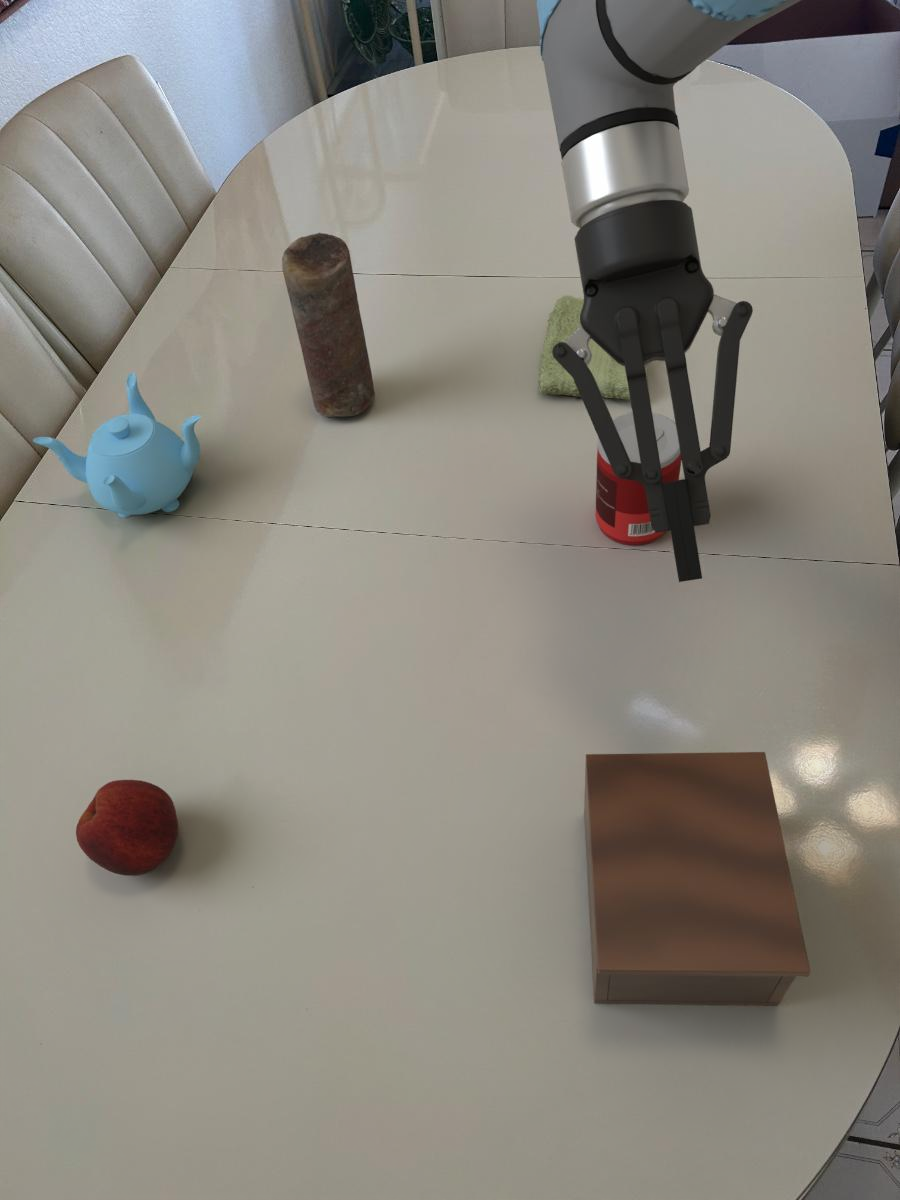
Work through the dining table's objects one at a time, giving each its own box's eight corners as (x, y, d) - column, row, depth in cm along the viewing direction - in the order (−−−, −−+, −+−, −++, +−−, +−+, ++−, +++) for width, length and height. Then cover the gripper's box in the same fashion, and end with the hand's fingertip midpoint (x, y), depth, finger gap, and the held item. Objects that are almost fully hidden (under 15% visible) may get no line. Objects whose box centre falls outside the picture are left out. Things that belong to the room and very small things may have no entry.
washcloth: (656, 314, 116) (658, 291, 114) (644, 407, 106) (646, 384, 103) (551, 310, 119) (551, 287, 116) (530, 400, 108) (529, 378, 106)
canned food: (688, 513, 95) (700, 431, 86) (641, 560, 92) (648, 480, 83) (627, 480, 99) (632, 399, 90) (579, 524, 96) (581, 444, 87)
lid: (808, 977, 57) (810, 972, 57) (598, 974, 59) (598, 970, 58) (763, 757, 68) (765, 751, 67) (585, 759, 69) (585, 753, 68)
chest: (778, 1006, 66) (802, 966, 59) (594, 1003, 67) (597, 965, 60) (745, 811, 75) (763, 757, 68) (584, 812, 76) (585, 759, 69)
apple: (135, 793, 81) (99, 747, 75) (210, 821, 79) (179, 777, 73) (84, 870, 77) (42, 829, 71) (162, 902, 75) (125, 863, 69)
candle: (384, 385, 113) (355, 232, 97) (371, 426, 108) (338, 272, 93) (324, 383, 114) (285, 231, 98) (308, 423, 110) (265, 271, 94)
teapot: (230, 484, 105) (203, 415, 97) (135, 555, 99) (98, 488, 91) (161, 438, 111) (130, 369, 103) (69, 503, 105) (28, 435, 97)
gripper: (731, 207, 62) (785, 557, 64) (539, 255, 65) (596, 587, 67) (740, 170, 55) (801, 566, 57) (523, 227, 58) (587, 600, 60)
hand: (690, 577), depth 62 cm, fingers closed
